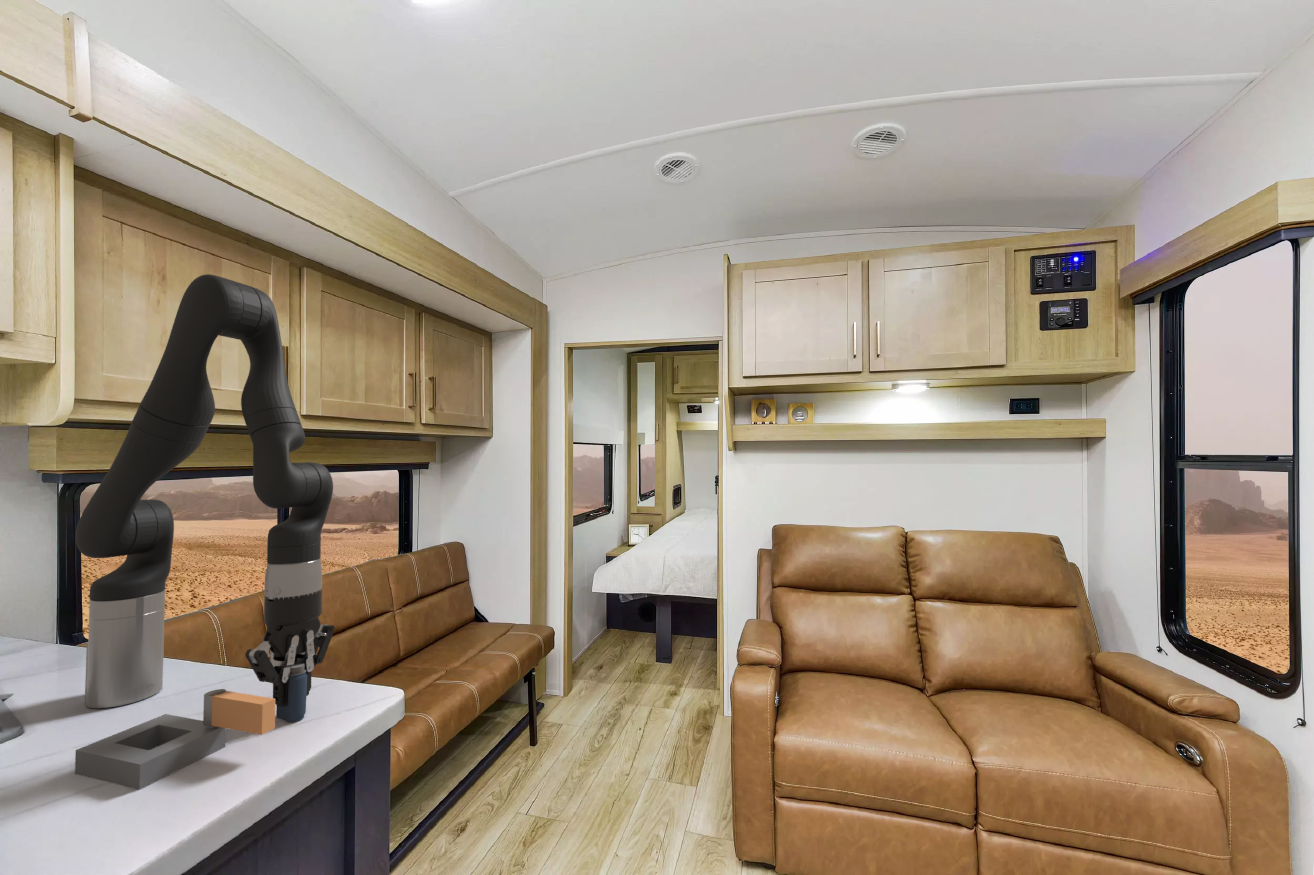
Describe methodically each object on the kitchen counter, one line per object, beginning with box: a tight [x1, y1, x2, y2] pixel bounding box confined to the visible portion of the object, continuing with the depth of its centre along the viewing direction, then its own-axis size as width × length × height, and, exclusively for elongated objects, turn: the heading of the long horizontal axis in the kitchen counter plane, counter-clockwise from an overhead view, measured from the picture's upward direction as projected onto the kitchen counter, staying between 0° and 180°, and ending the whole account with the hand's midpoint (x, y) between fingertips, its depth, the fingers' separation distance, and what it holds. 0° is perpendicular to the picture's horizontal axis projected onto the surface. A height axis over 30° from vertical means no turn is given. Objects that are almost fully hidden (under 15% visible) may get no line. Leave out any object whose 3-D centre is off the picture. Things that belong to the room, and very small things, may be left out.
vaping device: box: [275, 654, 307, 724], centre depth 84 cm, size 3×5×12 cm, turn 61°
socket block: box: [74, 713, 227, 790], centre depth 72 cm, size 12×10×3 cm
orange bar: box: [202, 688, 276, 736], centre depth 74 cm, size 11×2×4 cm, turn 74°
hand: (292, 700), depth 84 cm, fingers closed on vaping device, 2 cm apart
